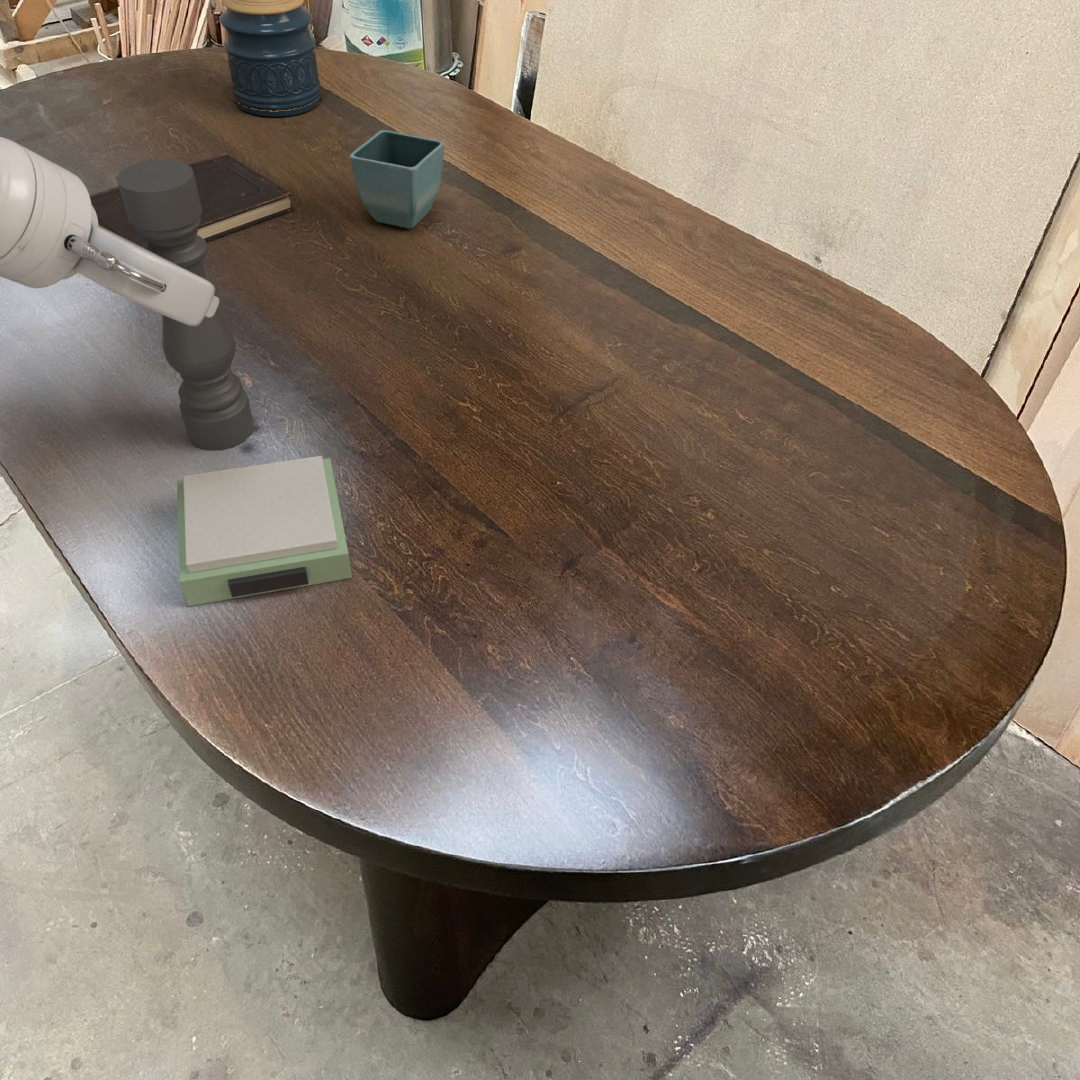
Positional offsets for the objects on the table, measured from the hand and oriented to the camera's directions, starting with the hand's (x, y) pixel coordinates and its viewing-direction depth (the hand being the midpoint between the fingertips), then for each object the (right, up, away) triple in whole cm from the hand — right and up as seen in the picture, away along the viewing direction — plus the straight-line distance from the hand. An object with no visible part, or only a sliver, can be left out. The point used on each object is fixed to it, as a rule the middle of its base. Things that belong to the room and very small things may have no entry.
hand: (173, 286), depth 80 cm
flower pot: (+13, +20, +42) cm, 48 cm away
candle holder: (0, -11, +11) cm, 16 cm away
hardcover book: (-14, +19, +40) cm, 47 cm away
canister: (-9, +45, +66) cm, 81 cm away
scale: (+7, -21, +1) cm, 23 cm away
